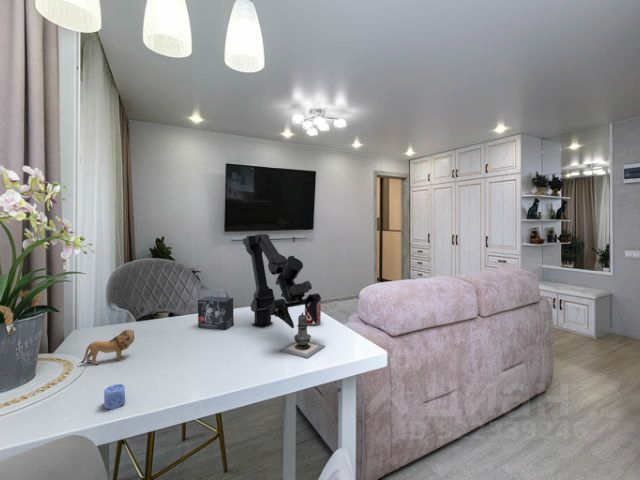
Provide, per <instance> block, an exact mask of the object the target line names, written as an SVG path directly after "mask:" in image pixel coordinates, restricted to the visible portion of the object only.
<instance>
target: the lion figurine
mask: <svg viewBox="0 0 640 480" xmlns="http://www.w3.org/2000/svg"><path fill="white" fill-rule="evenodd" d="M134 342H135V331H134V330H132V329H128V328H127V329H126V328H125V330H122V332H121V333H120V334H118V335H116V336H114V337H113V338H112V339H110V340H107V341H106V340H104V341H102V340H96V341H93V342H91V343H89V344H88V346H87V347H86V350H85V353H84V357H83V360H82V361H81V362H80V363H83V364H84V363H85V361H86V363H87V362H90V363H92V362H93V364H94V365H95V364H99V363H100V361H97V356H98V353H99V352H101V353H103V354H109V353H114V352H115V353H116V355H115V357H116V359H117V361H118V360H122V361H124V358H123V356H122V354H123V353H122V351H126V350H127V349H128V348H129V347H130V346H131V345H132V344H133V343H134ZM89 350H90V351H89ZM121 357H122V358H121ZM91 361H92V362H91ZM99 365H100V364H99Z"/></svg>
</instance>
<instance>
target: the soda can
mask: <svg viewBox="0 0 640 480" xmlns="http://www.w3.org/2000/svg"><path fill="white" fill-rule="evenodd" d="M305 296H306V297H305V299H307V297H308V296H309V294H307V295H305ZM321 301H322V299H321V300H320V301H319V303H318V304H317V306H316V313H317V323H315V322H314V321H313V320H312V318H311V316H310V315H309V313H308V311H307V307H306V306H305V305H304V315H305V316H306V317H307V325H309V326H317V325H319V324H321V322H322V321H321V320H322V319H321V318H322V317H321V316H322V315H321V314H322V311H321V310H322V309H321V306H322V305H321Z"/></svg>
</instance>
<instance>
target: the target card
mask: <svg viewBox="0 0 640 480" xmlns="http://www.w3.org/2000/svg"><path fill="white" fill-rule="evenodd" d="M308 344H309V345H310V348H309V349H307V350H298V349H296V348H295V346H296V345H297V343H296V341H295V340H294V342H293V341H292V342H291V343H289V344H288V345H286V346H284V347H282V348H280V352H282V353H285V354H289V355H293V356H297V357H301V358H304V359H309V358H311V357H312V356H314V355H315V354H317V353H318V352H320V351H321V350H323V349H324V348H326V345H325V344H321V343H317V342H312V341H309V343H308Z"/></svg>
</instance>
